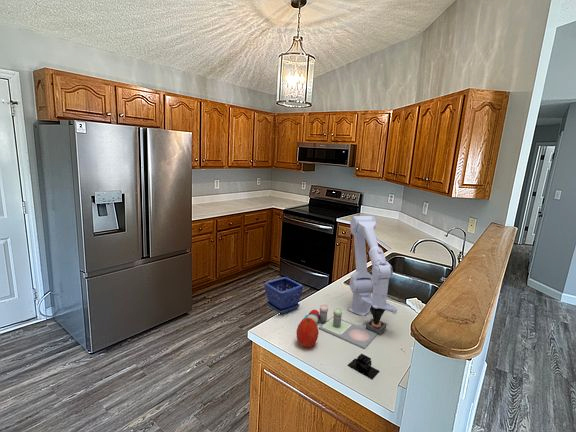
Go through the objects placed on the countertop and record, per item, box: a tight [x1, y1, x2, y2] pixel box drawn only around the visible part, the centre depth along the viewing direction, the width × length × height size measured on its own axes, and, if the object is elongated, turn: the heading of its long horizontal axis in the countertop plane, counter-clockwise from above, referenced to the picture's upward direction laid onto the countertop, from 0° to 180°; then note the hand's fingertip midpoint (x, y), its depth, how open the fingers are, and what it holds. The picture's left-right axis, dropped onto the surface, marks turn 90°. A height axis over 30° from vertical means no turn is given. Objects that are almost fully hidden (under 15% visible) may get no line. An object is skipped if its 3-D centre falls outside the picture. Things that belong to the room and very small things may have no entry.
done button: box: [371, 321, 381, 329], centre depth 127 cm, size 4×4×2 cm
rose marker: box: [318, 304, 329, 325], centre depth 130 cm, size 4×4×7 cm
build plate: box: [347, 353, 380, 380], centre depth 104 cm, size 12×7×5 cm, turn 47°
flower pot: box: [264, 276, 304, 315], centre depth 141 cm, size 13×13×12 cm
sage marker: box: [332, 307, 343, 328], centre depth 127 cm, size 4×4×7 cm
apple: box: [296, 317, 319, 348], centre depth 115 cm, size 8×8×11 cm
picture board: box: [318, 315, 378, 350], centre depth 125 cm, size 12×20×1 cm, turn 52°
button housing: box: [364, 317, 388, 337], centre depth 127 cm, size 6×6×2 cm
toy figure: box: [303, 309, 320, 325], centre depth 128 cm, size 8×5×15 cm
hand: (376, 323), depth 127 cm, fingers closed, pressing on done button
